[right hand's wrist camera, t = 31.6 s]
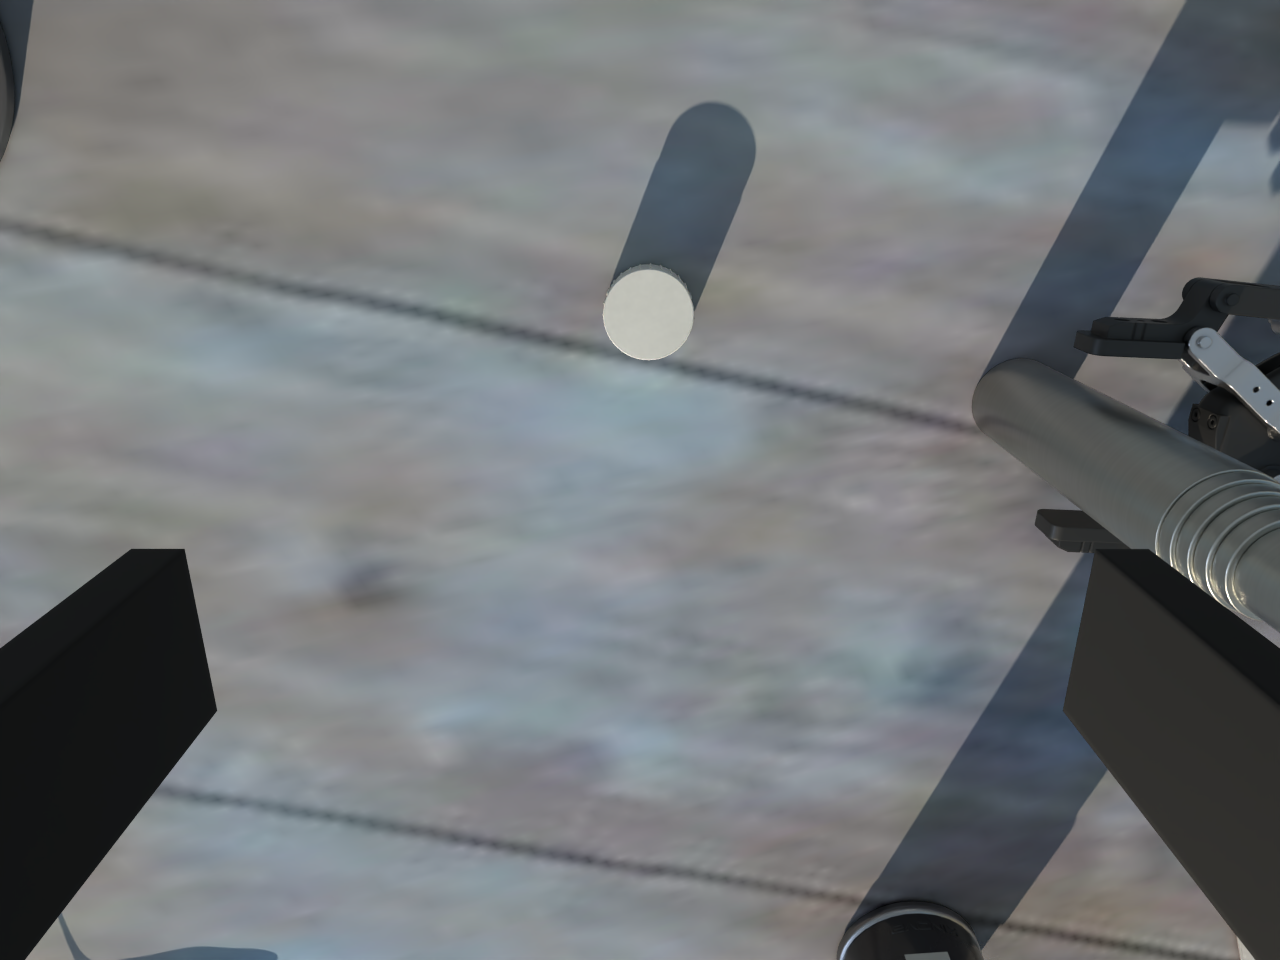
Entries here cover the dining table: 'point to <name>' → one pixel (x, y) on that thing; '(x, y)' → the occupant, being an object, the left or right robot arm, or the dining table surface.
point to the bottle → (1142, 481)
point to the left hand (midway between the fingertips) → (1061, 437)
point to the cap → (648, 312)
